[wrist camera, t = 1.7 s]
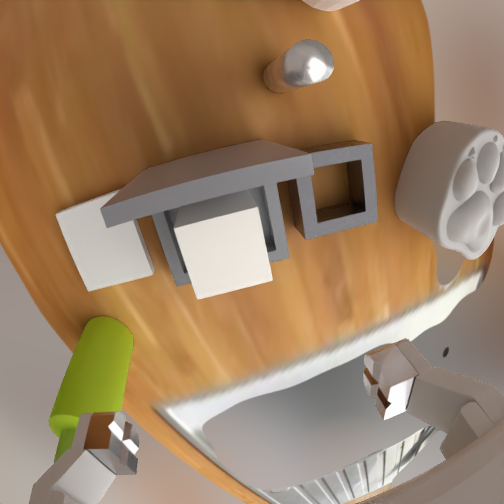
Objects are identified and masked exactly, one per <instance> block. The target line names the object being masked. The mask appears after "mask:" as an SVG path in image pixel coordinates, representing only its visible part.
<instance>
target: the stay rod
mask: <svg viewBox="0 0 504 504" xmlns="http://www.w3.org/2000/svg"><path fill="white" fill-rule="evenodd" d="M333 68H334V60H333V56H332V54H331V52H330V51H329V49H328V48H327V47H326V46H325V45H323V44H322V43H320V42H318V41H315V40H302V41H299V42H298V43H296V44H295V45H293V46H292V47H291V48H290V49H288V50H287V51H286V52H284V53H283V54H282V55H281V56H279V57H278V58H277V59H276V60H274V61H273V62H272V63H271V64H270V65H268V66H267V67H266V68H265V70H264V72H263V82H264V84H265V86H266V87H267V88H268V89H269V90H270V91H272V92H275V93H285V92H288V91H291V90H294V89H297V88H301V87H304V86H307V85H310V84H314V83H317V82H320V81H323V80H325V79H327V78H328V77H329V76H330V75H331V73H332V71H333Z"/></svg>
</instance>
